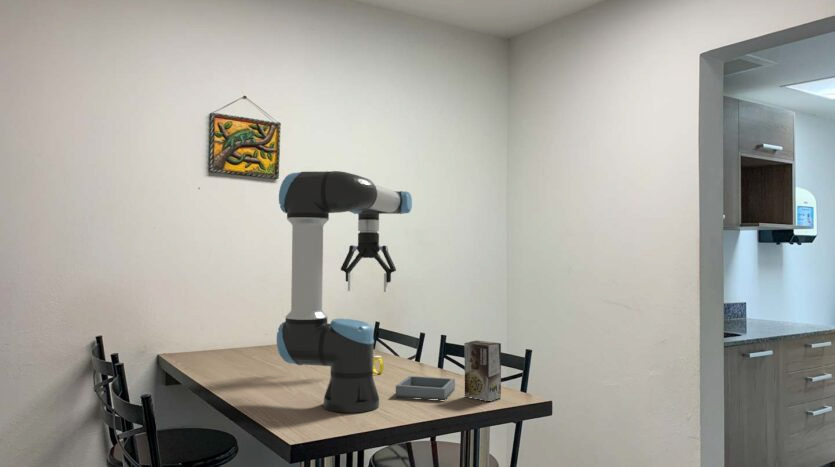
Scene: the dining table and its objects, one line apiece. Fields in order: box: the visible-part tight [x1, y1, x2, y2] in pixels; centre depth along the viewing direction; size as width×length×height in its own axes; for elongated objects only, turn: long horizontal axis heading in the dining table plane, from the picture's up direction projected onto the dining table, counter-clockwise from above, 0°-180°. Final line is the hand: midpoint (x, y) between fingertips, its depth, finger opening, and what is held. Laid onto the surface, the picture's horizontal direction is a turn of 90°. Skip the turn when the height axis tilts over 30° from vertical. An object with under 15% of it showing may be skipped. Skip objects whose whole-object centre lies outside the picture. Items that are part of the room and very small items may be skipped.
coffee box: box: [463, 340, 502, 402], centre depth 179 cm, size 9×6×16 cm
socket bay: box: [395, 375, 456, 401], centre depth 183 cm, size 14×14×4 cm
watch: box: [373, 355, 384, 375], centre depth 214 cm, size 6×3×6 cm, turn 37°
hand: (367, 291), depth 220 cm, fingers open, 13 cm apart
